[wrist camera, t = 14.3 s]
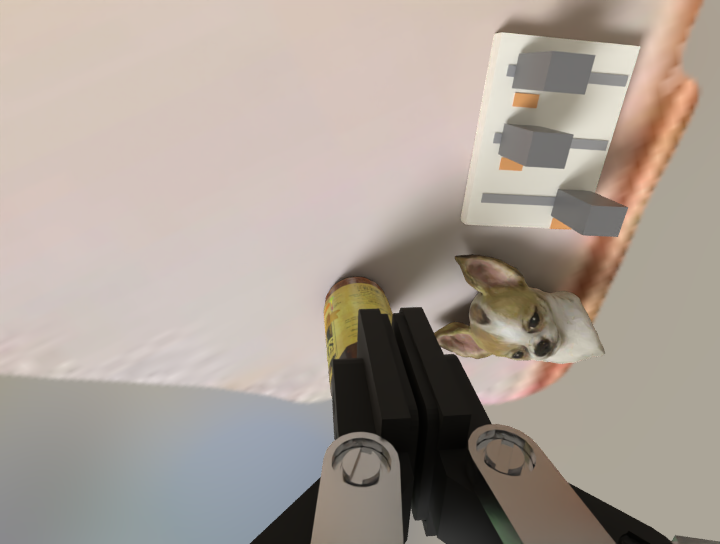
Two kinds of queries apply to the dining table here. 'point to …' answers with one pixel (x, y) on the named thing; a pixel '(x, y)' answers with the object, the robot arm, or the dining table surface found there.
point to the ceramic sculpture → (518, 319)
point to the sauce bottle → (349, 315)
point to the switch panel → (550, 110)
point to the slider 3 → (588, 212)
